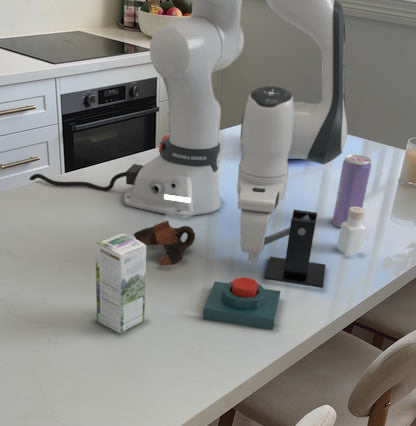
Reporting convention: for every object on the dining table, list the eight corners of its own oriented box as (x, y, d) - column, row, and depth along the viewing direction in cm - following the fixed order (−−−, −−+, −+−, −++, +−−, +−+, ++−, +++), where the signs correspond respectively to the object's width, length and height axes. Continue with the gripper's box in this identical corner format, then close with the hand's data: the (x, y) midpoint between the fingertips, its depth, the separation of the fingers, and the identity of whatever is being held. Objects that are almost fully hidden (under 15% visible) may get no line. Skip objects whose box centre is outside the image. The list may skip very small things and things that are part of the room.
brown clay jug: (149, 275, 127) (133, 233, 125) (140, 274, 136) (125, 235, 134) (206, 253, 129) (192, 211, 127) (194, 253, 138) (180, 214, 136)
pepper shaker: (335, 249, 140) (343, 206, 135) (351, 247, 142) (360, 204, 136) (344, 257, 137) (353, 214, 132) (361, 255, 139) (371, 212, 133)
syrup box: (121, 309, 115) (120, 231, 106) (145, 322, 112) (147, 242, 104) (96, 321, 111) (93, 241, 103) (121, 335, 108) (120, 254, 100)
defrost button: (229, 296, 114) (230, 287, 113) (233, 284, 117) (234, 275, 116) (255, 300, 113) (256, 291, 112) (258, 288, 117) (259, 279, 116)
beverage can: (358, 231, 149) (372, 164, 140) (331, 227, 150) (343, 161, 141) (358, 221, 154) (372, 156, 145) (332, 217, 154) (344, 152, 146)
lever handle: (249, 260, 127) (241, 244, 126) (252, 252, 130) (244, 237, 129) (313, 233, 122) (305, 217, 121) (314, 226, 125) (306, 210, 123)
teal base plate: (203, 319, 114) (204, 298, 112) (213, 291, 122) (215, 272, 120) (272, 330, 113) (275, 309, 110) (278, 301, 121) (281, 282, 118)
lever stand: (264, 282, 126) (272, 221, 119) (269, 261, 134) (277, 203, 126) (322, 291, 125) (333, 229, 118) (324, 269, 132) (335, 210, 125)
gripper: (251, 165, 129) (245, 232, 137) (236, 203, 113) (230, 276, 121) (283, 168, 129) (275, 235, 137) (274, 207, 112) (265, 281, 120)
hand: (254, 255), depth 128 cm, fingers closed on lever handle, 3 cm apart
